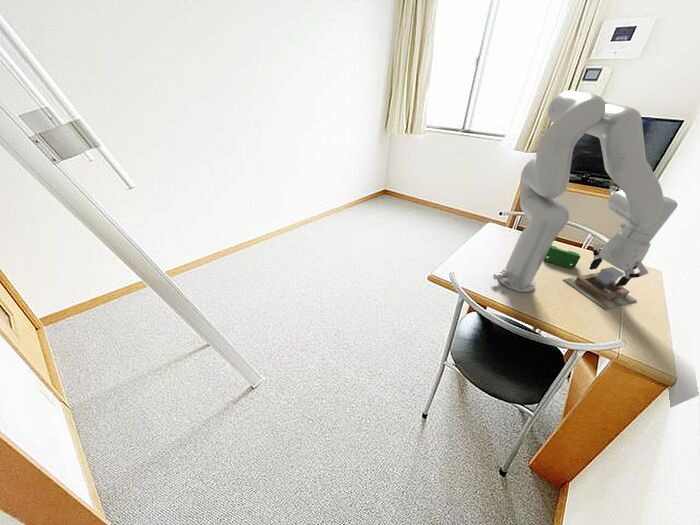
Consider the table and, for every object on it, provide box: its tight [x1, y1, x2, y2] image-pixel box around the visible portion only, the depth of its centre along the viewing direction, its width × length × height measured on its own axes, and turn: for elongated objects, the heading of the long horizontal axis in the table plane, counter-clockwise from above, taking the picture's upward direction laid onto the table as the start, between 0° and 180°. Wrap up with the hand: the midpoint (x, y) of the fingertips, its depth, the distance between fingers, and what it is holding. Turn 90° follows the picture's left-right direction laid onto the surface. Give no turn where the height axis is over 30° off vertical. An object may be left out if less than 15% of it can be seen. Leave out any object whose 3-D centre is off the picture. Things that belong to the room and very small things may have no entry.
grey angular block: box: [592, 266, 625, 293], centre depth 106 cm, size 6×4×8 cm
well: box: [563, 272, 638, 310], centre depth 107 cm, size 16×16×3 cm
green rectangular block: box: [543, 244, 581, 270], centre depth 121 cm, size 12×6×9 cm, turn 52°
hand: (605, 276), depth 105 cm, fingers open, 9 cm apart
